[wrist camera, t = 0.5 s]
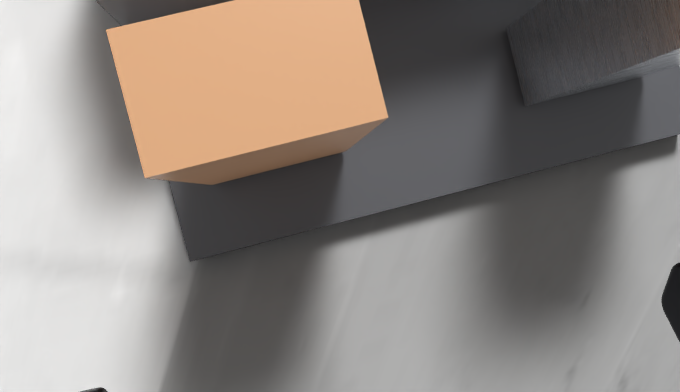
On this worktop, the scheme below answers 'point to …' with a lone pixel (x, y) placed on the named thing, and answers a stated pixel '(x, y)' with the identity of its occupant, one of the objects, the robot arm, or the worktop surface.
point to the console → (422, 125)
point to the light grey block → (592, 44)
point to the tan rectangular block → (247, 87)
